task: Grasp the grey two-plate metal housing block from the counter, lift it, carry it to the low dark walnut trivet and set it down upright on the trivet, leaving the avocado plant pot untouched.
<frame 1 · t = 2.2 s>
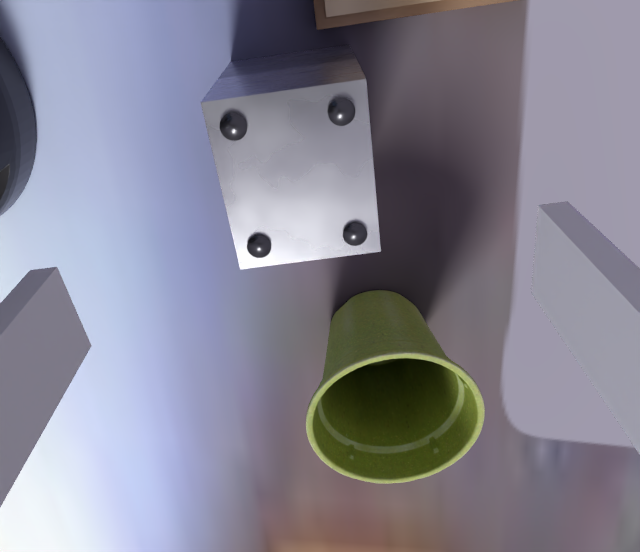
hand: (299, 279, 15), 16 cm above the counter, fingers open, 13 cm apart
housing: (300, 122, 29), on the counter
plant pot: (376, 325, 36), on the counter
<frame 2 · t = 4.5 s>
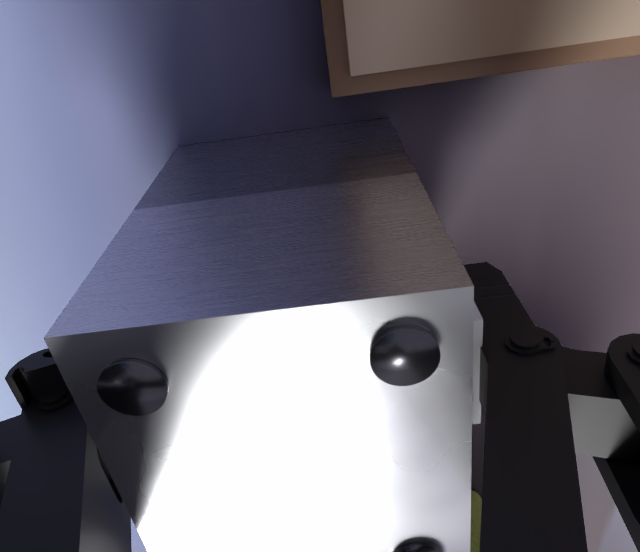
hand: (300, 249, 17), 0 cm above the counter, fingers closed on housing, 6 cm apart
housing: (300, 242, 17), on the counter, touching gripper
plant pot: (414, 510, 24), on the counter
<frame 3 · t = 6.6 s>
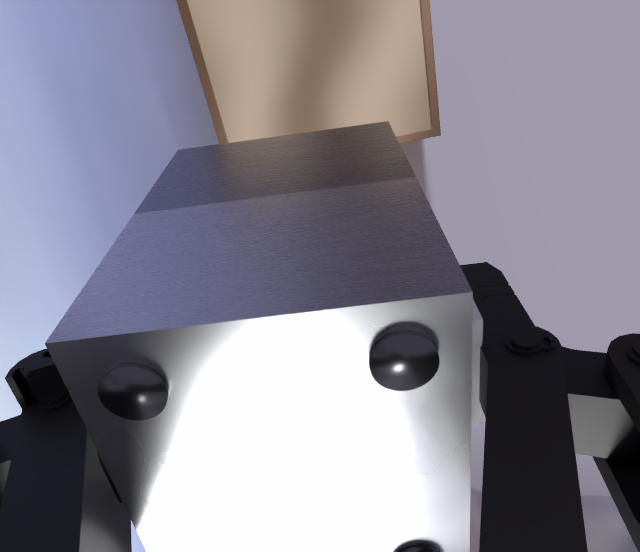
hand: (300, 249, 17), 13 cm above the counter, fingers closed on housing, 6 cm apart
housing: (300, 245, 17), point 13 cm above the counter, touching gripper
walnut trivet: (311, 40, 26), on the counter
when the fingers open (3 cm above the counter, at t = 9.0 s): housing drops 1 cm, resting on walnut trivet.
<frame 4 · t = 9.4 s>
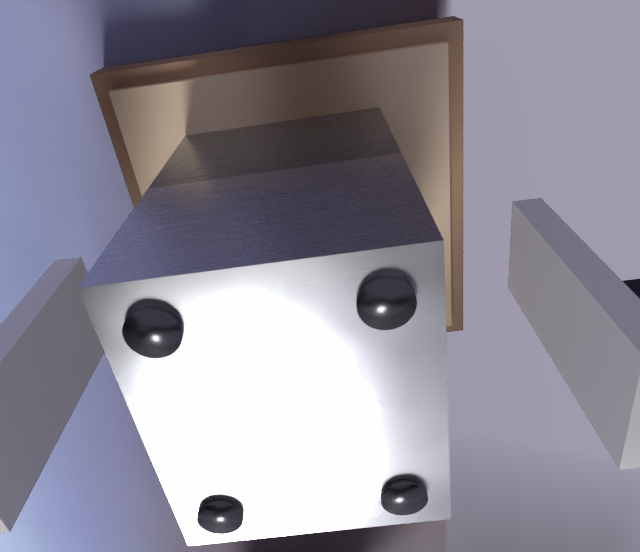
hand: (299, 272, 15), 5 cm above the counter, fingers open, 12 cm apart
housing: (299, 224, 18), point 1 cm above the counter, touching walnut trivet
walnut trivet: (301, 205, 19), on the counter
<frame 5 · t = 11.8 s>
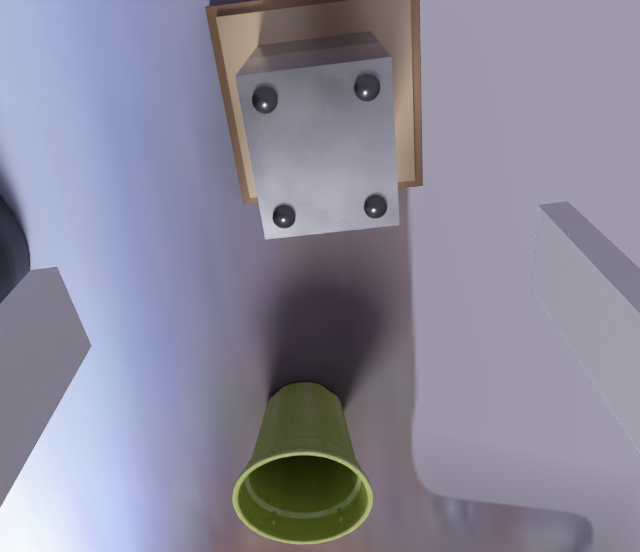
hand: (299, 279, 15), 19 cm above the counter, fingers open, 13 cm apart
housing: (321, 106, 30), point 1 cm above the counter, touching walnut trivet
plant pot: (305, 407, 44), on the counter
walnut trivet: (322, 99, 31), on the counter
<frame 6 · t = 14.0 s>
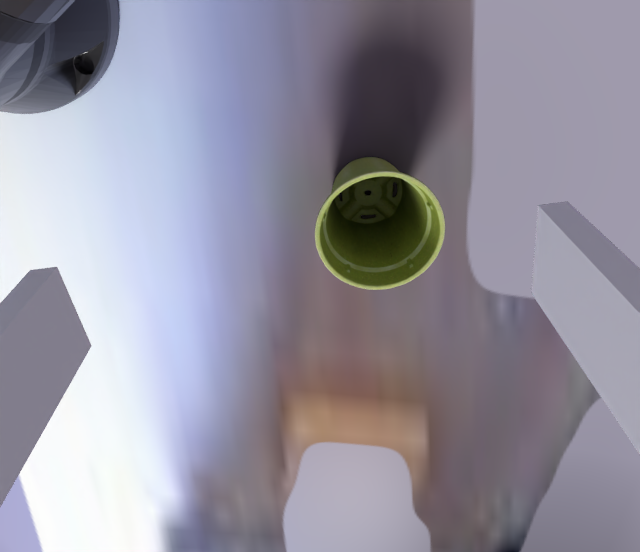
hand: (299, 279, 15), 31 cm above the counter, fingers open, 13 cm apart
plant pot: (368, 189, 47), on the counter
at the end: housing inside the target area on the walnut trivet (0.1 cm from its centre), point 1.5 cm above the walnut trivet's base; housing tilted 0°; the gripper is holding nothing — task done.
